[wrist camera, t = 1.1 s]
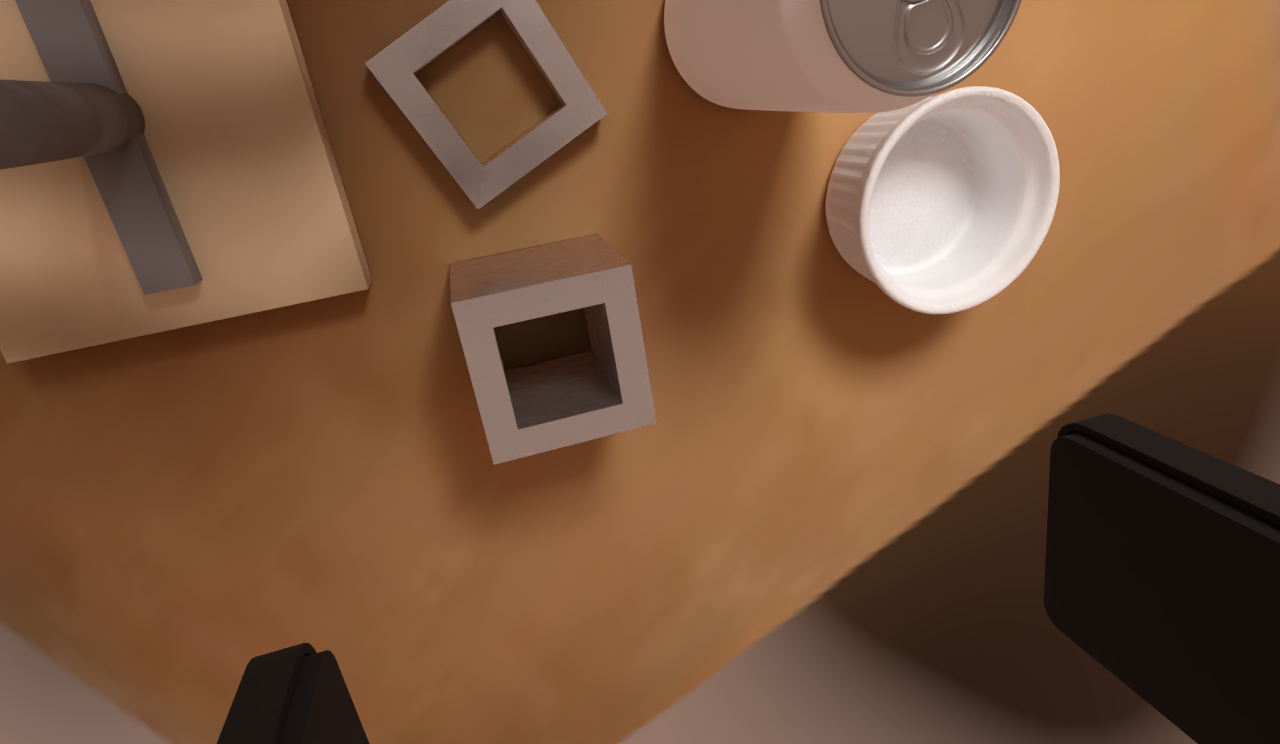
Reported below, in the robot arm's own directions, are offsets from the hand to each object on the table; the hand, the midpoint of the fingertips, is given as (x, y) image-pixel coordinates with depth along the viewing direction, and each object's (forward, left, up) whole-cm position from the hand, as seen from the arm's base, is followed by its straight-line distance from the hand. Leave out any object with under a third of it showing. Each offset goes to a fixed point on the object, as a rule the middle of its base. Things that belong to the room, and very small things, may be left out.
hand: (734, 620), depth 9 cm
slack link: (-6, 0, -22) cm, 23 cm away
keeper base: (-7, -12, -22) cm, 26 cm away
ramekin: (+1, +17, -23) cm, 28 cm away
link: (+3, 0, -22) cm, 22 cm away
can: (-7, +10, -22) cm, 26 cm away
